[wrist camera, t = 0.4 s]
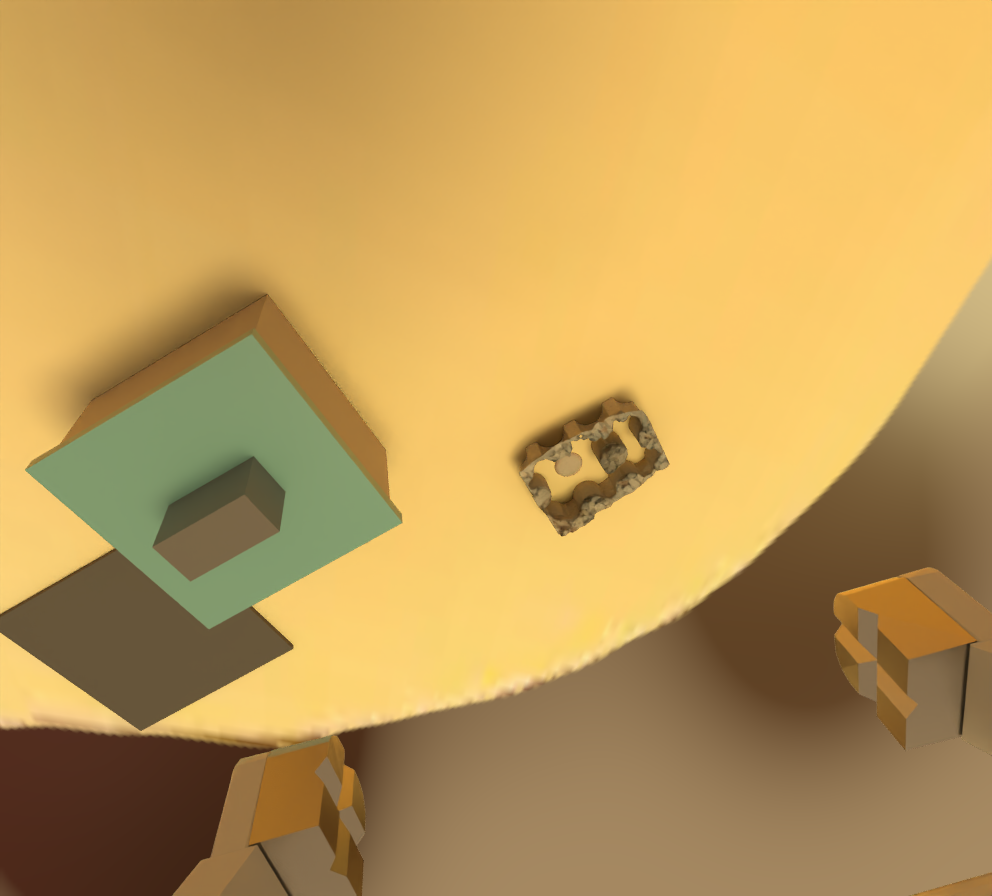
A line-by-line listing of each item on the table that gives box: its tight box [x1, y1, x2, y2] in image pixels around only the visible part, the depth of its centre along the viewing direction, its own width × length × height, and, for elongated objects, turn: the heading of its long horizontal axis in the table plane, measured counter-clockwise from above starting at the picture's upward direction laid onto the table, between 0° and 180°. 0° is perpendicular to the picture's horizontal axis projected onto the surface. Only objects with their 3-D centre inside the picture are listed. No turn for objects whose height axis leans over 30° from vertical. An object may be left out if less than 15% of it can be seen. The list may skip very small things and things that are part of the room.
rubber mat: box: [0, 549, 293, 731], centre depth 56 cm, size 16×16×1 cm
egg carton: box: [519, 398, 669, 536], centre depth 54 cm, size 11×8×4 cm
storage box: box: [60, 294, 390, 499], centre depth 46 cm, size 14×14×8 cm
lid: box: [25, 328, 402, 629], centre depth 41 cm, size 15×15×6 cm
